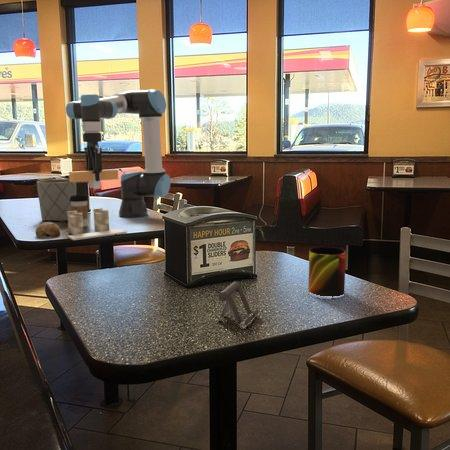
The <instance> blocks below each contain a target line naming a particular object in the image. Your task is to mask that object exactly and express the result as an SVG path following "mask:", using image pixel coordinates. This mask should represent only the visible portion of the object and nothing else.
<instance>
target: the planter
mask: <svg viewBox="0 0 450 450" xmlns="http://www.w3.org/2000/svg"><path fill="white" fill-rule="evenodd" d="M36 189H37V194H38V201H39V202H38V203H39V208H40V216H41V220H42V222H44V221H58V222H60V223H64V222H66V221H68V214H67V212H69V211H72V209H71V201H70V196H72V195H77V182H70V180H69V178H60V179H59V178H57V179H44V180H43V179H42V180H37V181H36Z"/></svg>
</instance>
